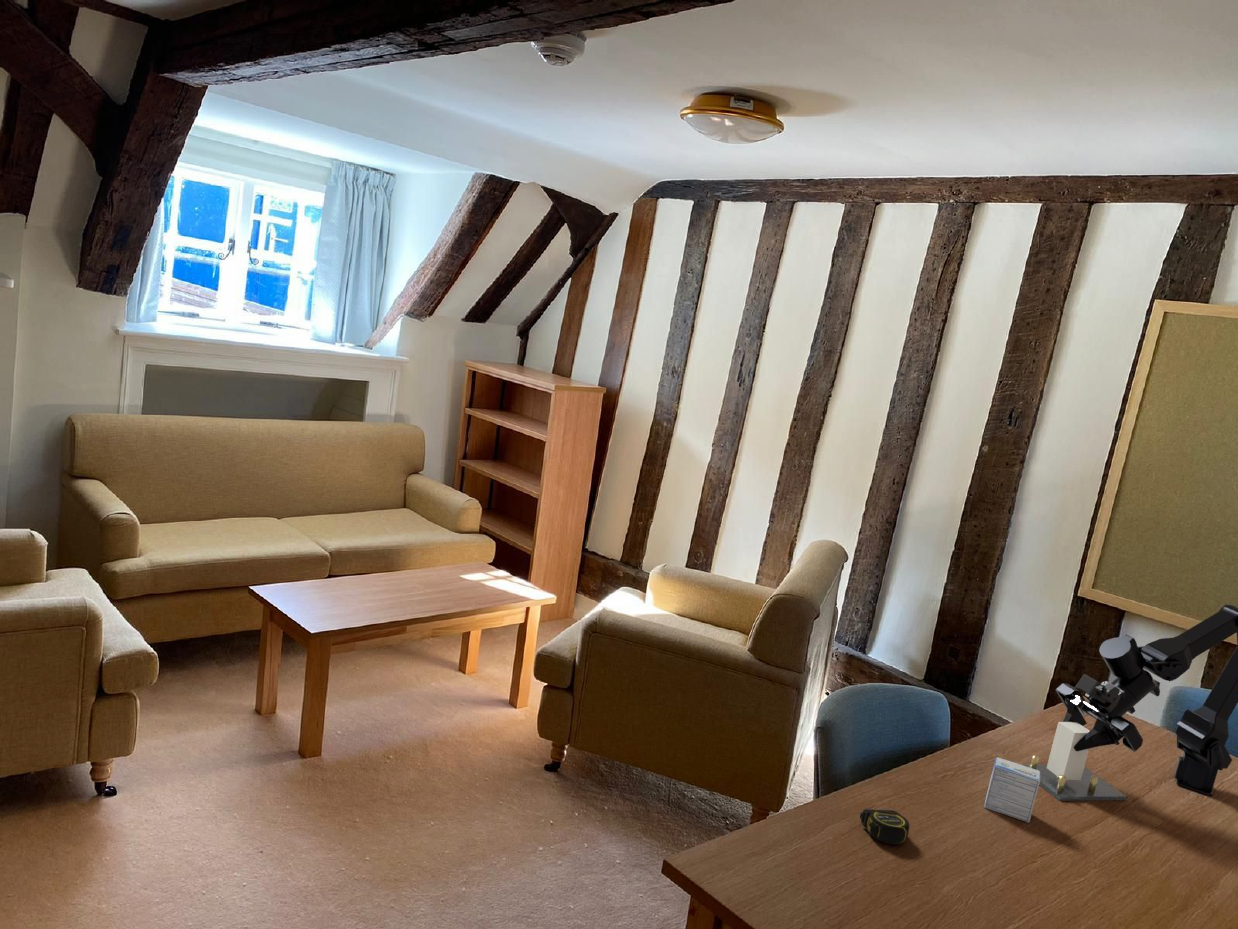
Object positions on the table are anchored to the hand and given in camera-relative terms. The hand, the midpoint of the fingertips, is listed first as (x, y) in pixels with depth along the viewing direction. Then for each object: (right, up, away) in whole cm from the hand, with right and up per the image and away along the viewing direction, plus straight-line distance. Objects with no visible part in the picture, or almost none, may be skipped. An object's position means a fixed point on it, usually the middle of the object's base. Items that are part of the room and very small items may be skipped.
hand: (1065, 743), depth 189 cm
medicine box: (-17, -9, -13) cm, 23 cm away
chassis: (+2, -9, +3) cm, 10 cm away
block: (0, -7, +2) cm, 7 cm away
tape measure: (-44, -7, -28) cm, 52 cm away
